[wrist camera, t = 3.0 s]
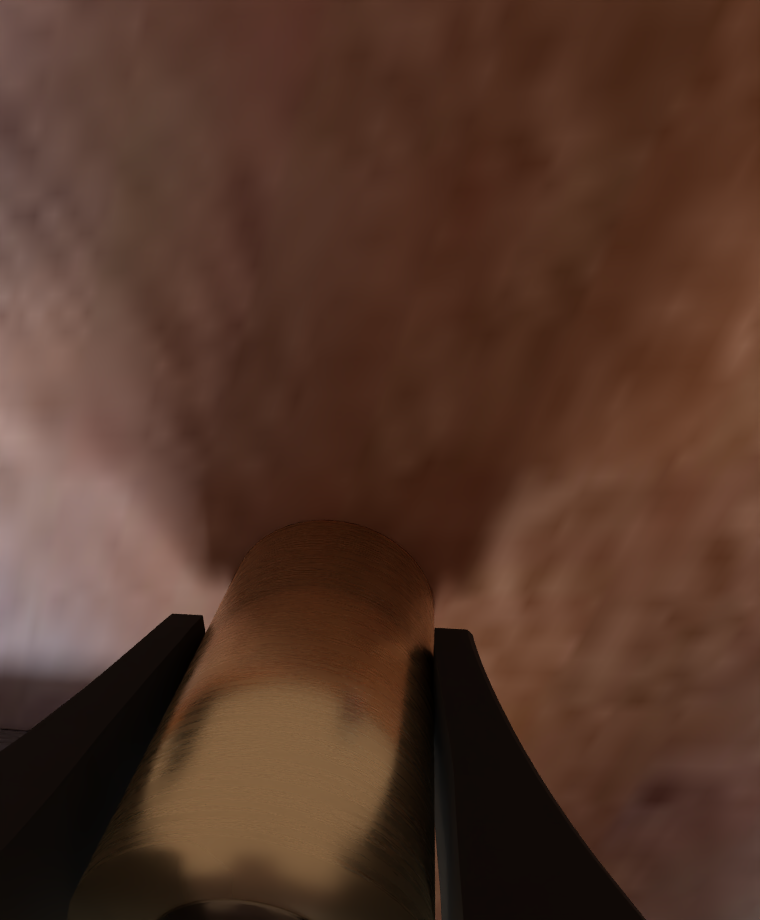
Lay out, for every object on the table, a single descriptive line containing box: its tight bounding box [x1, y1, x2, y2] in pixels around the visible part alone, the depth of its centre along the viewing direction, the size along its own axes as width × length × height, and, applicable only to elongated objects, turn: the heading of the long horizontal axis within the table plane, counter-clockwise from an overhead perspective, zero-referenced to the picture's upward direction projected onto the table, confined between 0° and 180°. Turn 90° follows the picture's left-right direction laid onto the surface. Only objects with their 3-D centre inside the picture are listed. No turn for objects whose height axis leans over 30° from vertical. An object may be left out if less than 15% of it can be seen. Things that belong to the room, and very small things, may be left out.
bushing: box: [67, 520, 435, 920], centre depth 10 cm, size 4×4×6 cm
